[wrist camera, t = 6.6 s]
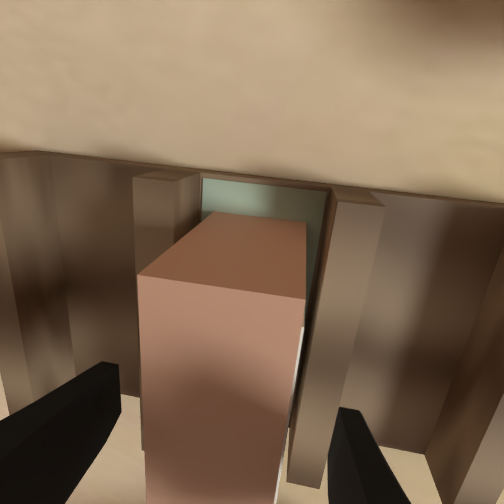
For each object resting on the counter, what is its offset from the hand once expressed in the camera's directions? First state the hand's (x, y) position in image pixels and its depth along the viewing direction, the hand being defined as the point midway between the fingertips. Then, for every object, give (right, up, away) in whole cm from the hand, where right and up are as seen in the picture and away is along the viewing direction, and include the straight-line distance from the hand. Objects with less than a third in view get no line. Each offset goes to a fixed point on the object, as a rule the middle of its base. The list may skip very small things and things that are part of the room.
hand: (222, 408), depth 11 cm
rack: (+1, +2, +6) cm, 7 cm away
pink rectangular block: (+1, +2, +5) cm, 6 cm away
